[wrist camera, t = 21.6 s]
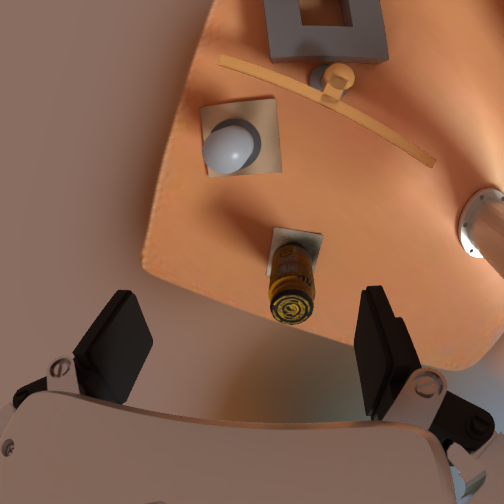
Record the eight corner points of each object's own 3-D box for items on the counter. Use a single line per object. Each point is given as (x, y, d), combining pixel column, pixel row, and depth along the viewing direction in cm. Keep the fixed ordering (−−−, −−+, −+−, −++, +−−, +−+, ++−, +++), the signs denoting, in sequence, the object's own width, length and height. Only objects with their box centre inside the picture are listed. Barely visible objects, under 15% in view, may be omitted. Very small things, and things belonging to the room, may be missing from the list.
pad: (275, 98, 34) (275, 98, 33) (282, 171, 38) (281, 172, 38) (200, 107, 35) (199, 107, 34) (210, 176, 40) (208, 178, 39)
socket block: (363, -21, 23) (374, -38, 17) (380, 102, 32) (397, 102, 26) (260, -23, 25) (256, -42, 19) (276, 102, 34) (274, 101, 28)
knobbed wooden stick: (238, 27, 24) (235, 22, 22) (442, 129, 27) (449, 131, 25) (221, 66, 27) (217, 63, 25) (424, 164, 29) (432, 168, 27)
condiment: (266, 275, 46) (259, 326, 36) (274, 226, 42) (269, 270, 32) (311, 281, 46) (316, 333, 36) (323, 234, 42) (334, 279, 31)
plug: (261, 113, 34) (251, 116, 25) (267, 157, 37) (259, 178, 27) (216, 120, 35) (189, 127, 26) (223, 163, 38) (200, 185, 28)
